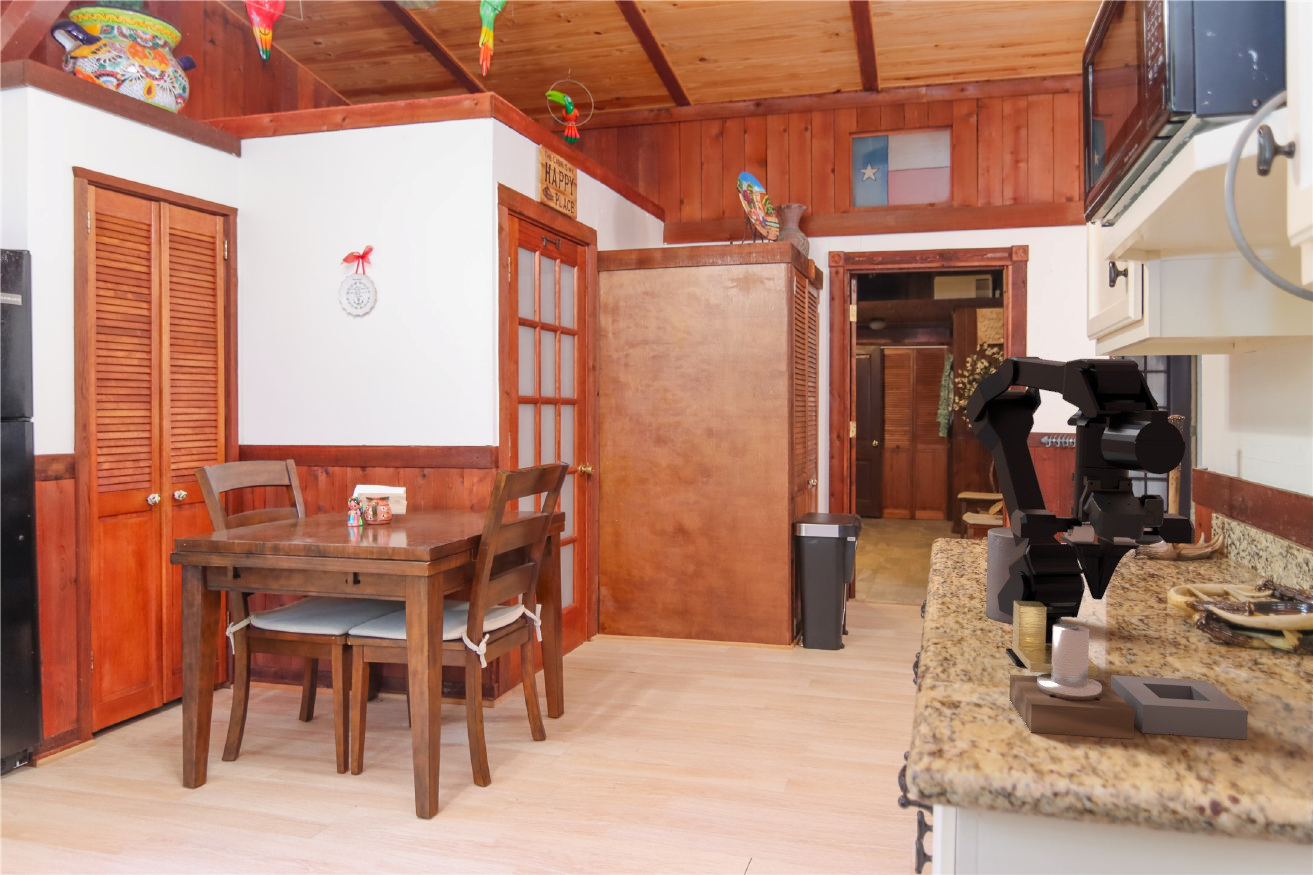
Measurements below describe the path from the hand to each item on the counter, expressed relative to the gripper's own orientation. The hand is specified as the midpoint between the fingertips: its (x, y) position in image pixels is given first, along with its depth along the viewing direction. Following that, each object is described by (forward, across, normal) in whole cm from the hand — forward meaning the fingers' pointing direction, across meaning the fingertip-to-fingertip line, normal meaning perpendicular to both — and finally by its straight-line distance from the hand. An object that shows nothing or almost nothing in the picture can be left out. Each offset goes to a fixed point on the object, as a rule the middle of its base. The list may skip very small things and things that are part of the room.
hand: (1096, 598), depth 107 cm
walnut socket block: (+11, -6, -10) cm, 16 cm away
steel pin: (+11, -6, -10) cm, 16 cm away
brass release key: (+7, -5, -3) cm, 9 cm away
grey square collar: (+11, +6, -8) cm, 15 cm away
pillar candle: (+12, 0, +36) cm, 38 cm away
